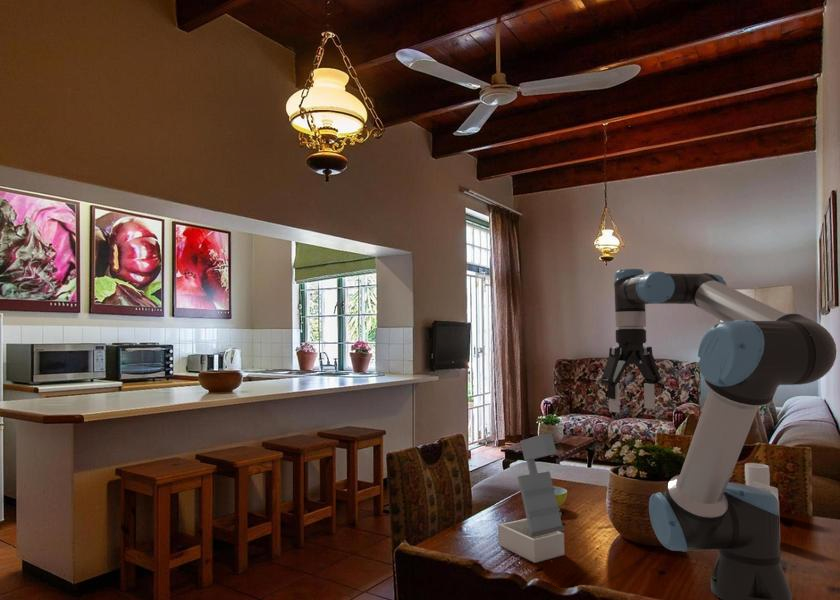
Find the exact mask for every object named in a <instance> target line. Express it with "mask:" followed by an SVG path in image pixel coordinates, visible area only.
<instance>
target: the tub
mask: <svg viewBox="0 0 840 600" xmlns="http://www.w3.org/2000/svg"><path fill="white" fill-rule="evenodd" d="M497 525H498V527H497V528H498V530H497V531H498V533H497V534H498V535H497V536H498V538H497V539H498V541H497V542H498V543H497V544H498V545H499V546H500V547H502V548H504V549H506V550H508V551H510V552H512V553H514V554H516V555H518V556H520V557H522V558H523V559H526V560H528V561H530V562H532V563H539V562H544V561H546V560H550V559H555V558H558V557H561V556H565V533H564V532H562V531H557V532H553V533H548V534H544V535H540V536H541V537H542V538H537V539H534V538H536V537H538V536H536V537H531V536H530V531H529V527H528V522H527V517H526V518H522V519H518V520H514V521H508V522H503V523H500V524H499V523H498V524H497Z"/></svg>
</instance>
